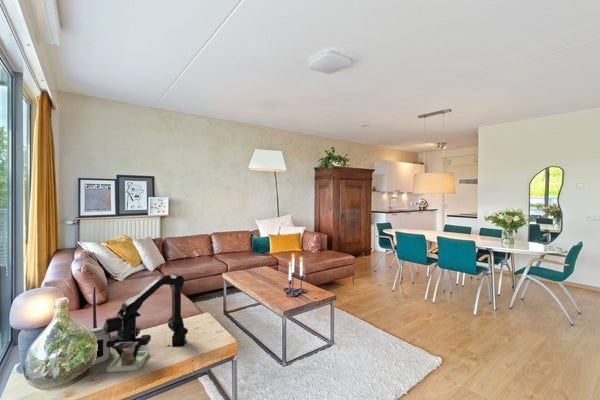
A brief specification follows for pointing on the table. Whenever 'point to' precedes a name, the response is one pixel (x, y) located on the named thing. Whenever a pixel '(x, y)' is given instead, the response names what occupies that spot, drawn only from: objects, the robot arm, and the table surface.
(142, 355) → the tray
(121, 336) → the soda can
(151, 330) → the table surface
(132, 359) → the walnut block
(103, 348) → the alarm clock
